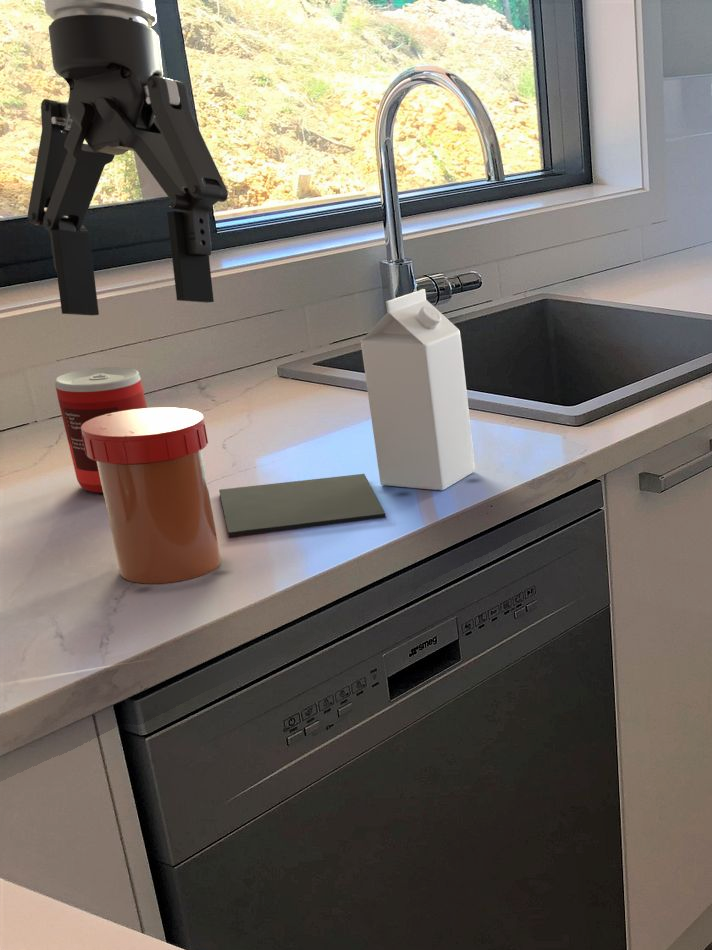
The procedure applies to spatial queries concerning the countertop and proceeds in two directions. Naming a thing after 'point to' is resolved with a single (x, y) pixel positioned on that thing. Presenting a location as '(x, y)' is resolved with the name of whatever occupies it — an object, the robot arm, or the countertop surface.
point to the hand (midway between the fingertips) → (136, 308)
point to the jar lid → (144, 435)
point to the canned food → (94, 409)
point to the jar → (161, 519)
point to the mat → (299, 505)
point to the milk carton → (418, 396)
